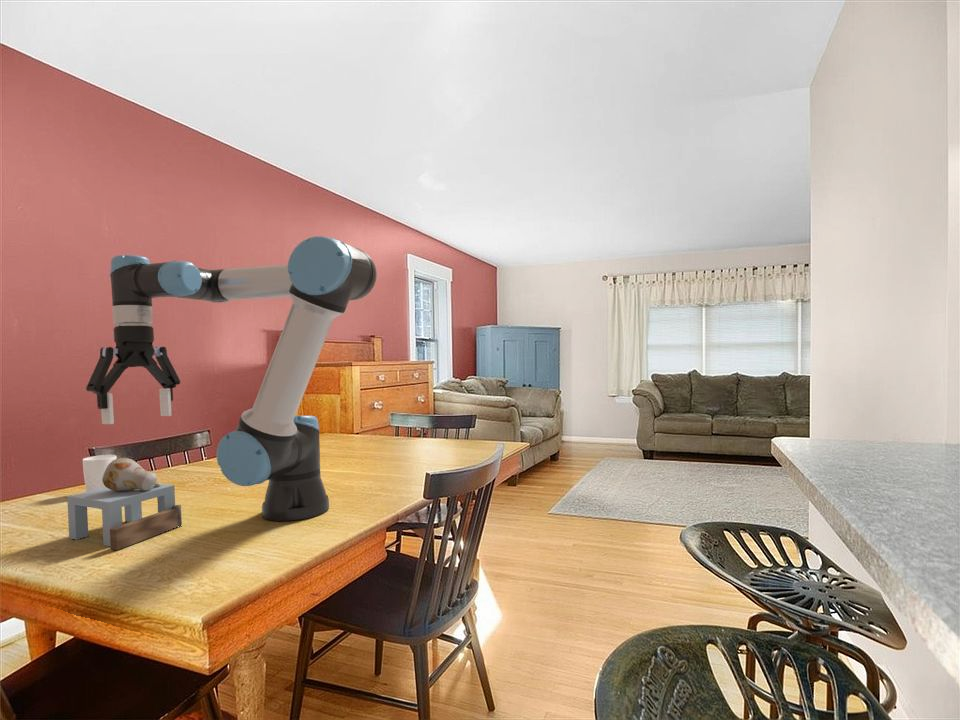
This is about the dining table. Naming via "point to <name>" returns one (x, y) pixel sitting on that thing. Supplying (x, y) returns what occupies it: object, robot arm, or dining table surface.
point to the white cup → (95, 470)
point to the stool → (113, 507)
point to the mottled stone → (128, 476)
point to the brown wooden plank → (145, 528)
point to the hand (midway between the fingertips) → (138, 419)
